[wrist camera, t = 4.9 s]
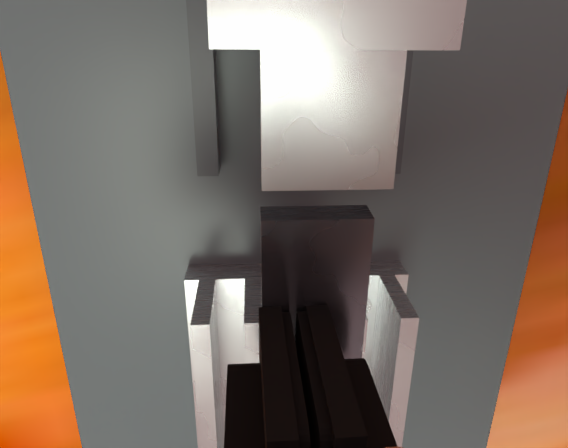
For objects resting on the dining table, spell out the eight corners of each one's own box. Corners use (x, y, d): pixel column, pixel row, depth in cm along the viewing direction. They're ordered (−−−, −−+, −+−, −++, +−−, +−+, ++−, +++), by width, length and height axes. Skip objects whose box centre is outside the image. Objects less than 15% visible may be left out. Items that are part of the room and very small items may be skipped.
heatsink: (381, 420, 19) (408, 500, 16) (200, 428, 18) (190, 512, 15) (399, 260, 16) (435, 317, 13) (187, 265, 16) (172, 325, 13)
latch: (366, 126, 14) (440, 192, 9) (229, 127, 14) (216, 195, 8) (382, -91, 12) (492, -183, 7) (221, -94, 12) (196, -194, 6)
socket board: (460, 469, 22) (508, 571, 18) (107, 488, 21) (72, 600, 17) (576, -97, 14) (716, -149, 10) (-6, -112, 13) (-128, -177, 9)
